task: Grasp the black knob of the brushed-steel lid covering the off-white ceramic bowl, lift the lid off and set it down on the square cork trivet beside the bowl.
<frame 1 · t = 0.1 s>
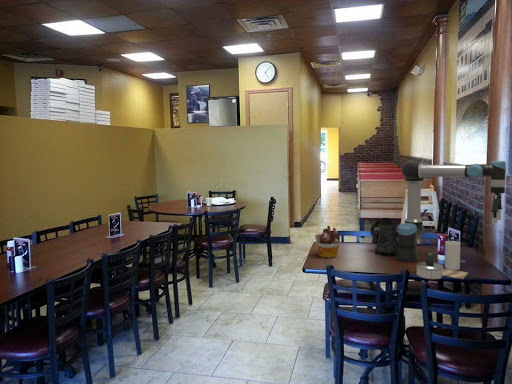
hand: (496, 221, 246), 28 cm above the table, fingers open, 13 cm apart
trivet: (452, 274, 235), on the table
bucket of meat: (327, 256, 281), on the table
cup: (452, 268, 247), on the table
bowl: (429, 275, 233), on the table
lid: (429, 267, 233), point 5 cm above the table, touching bowl
beer stein: (385, 253, 284), on the table
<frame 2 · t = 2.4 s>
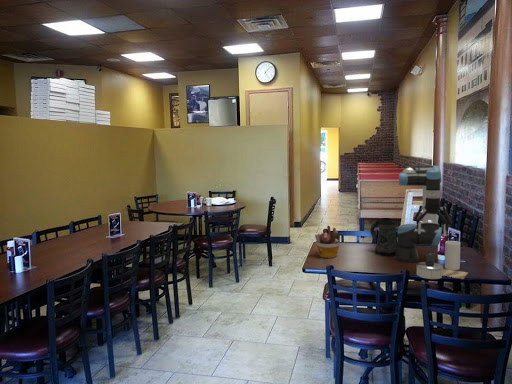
hand: (431, 234, 231), 24 cm above the table, fingers open, 13 cm apart
nothing on the table moved.
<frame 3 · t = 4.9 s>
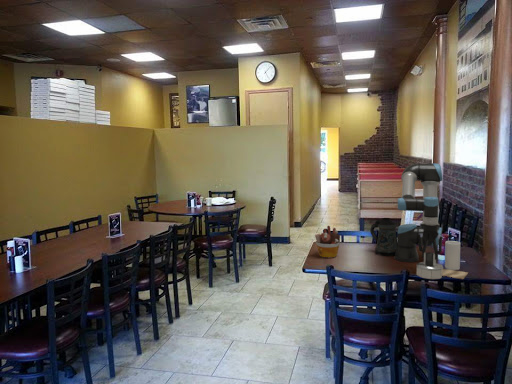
hand: (429, 264, 232), 7 cm above the table, fingers closed on lid, 4 cm apart
lid: (429, 267, 233), point 5 cm above the table, touching bowl, gripper
everything else where it was.
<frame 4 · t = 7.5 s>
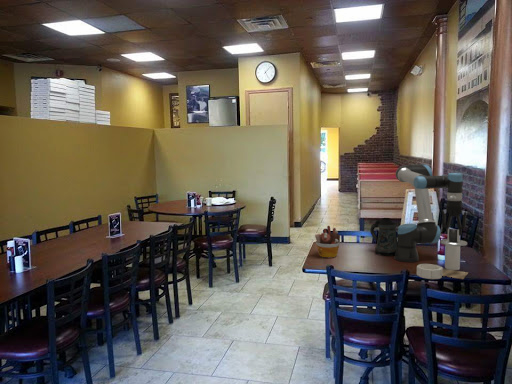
hand: (453, 240, 233), 20 cm above the table, fingers closed on lid, 4 cm apart
lid: (453, 243, 233), point 18 cm above the table, touching gripper
everything else where it was.
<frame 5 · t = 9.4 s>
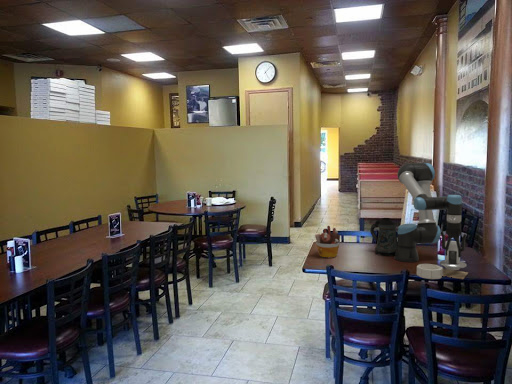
hand: (452, 261, 234), 7 cm above the table, fingers closed on lid, 4 cm apart
lid: (452, 264, 234), point 6 cm above the table, touching gripper
everything else where it was.
when the fingers open (4 cm above the table, at t = 10.5 s): lid drops 1 cm, resting on trivet.
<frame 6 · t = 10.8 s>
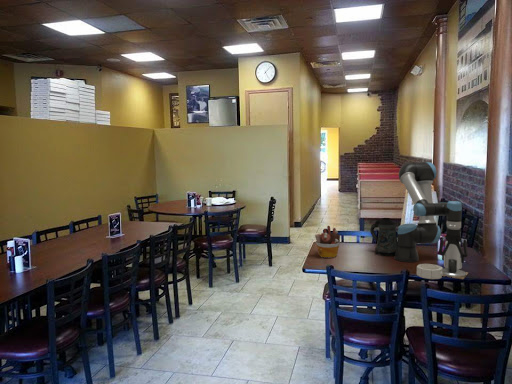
hand: (452, 267, 234), 4 cm above the table, fingers open, 8 cm apart
lid: (452, 273, 235), resting on trivet
everything else where it was.
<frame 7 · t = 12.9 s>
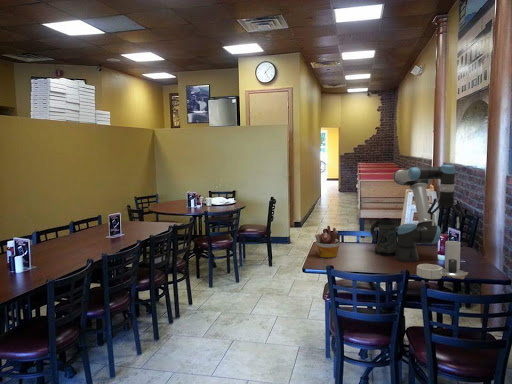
hand: (445, 226, 240), 27 cm above the table, fingers open, 13 cm apart
nothing on the table moved.
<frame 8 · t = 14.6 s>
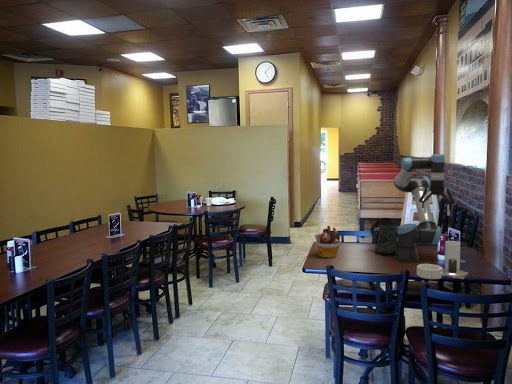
hand: (436, 214, 247), 33 cm above the table, fingers open, 13 cm apart
nothing on the table moved.
at the end: lid inside the target area on the trivet (0.1 cm from its centre), point 0.4 cm above the trivet's base; lid tilted 0°; lid touching trivet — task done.
